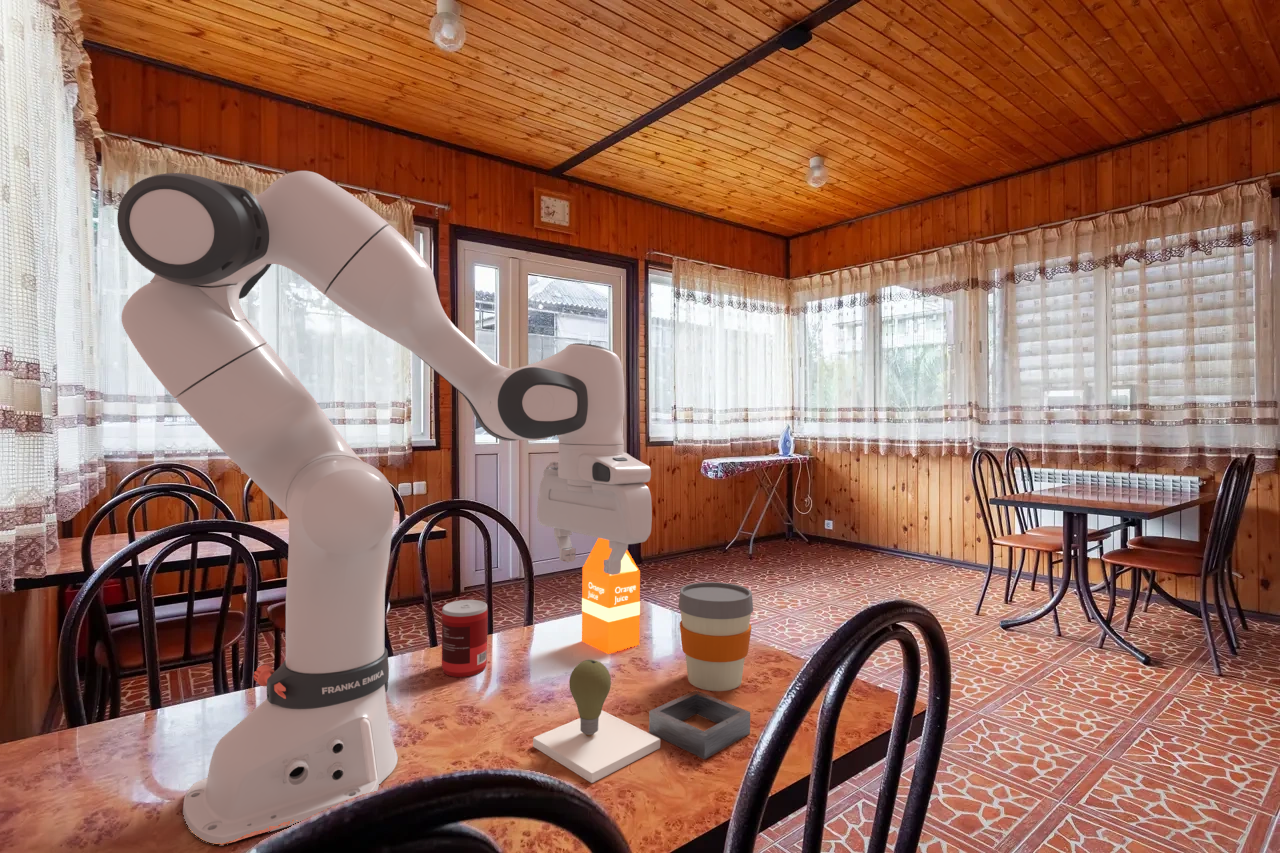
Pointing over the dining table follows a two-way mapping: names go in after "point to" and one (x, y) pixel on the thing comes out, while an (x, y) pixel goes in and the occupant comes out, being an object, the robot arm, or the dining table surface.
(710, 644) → the reusable coffee cup
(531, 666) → the dining table surface
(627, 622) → the orange juice
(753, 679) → the dining table surface
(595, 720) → the light bulb
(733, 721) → the square socket
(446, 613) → the canned food
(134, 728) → the dining table surface
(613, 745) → the cream pad
